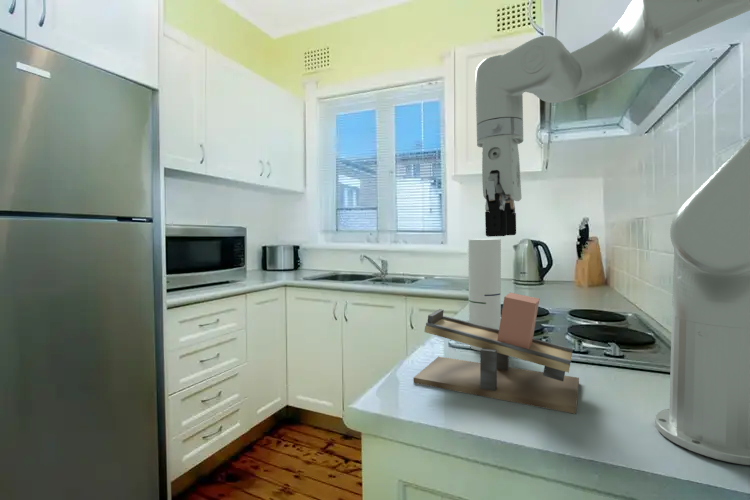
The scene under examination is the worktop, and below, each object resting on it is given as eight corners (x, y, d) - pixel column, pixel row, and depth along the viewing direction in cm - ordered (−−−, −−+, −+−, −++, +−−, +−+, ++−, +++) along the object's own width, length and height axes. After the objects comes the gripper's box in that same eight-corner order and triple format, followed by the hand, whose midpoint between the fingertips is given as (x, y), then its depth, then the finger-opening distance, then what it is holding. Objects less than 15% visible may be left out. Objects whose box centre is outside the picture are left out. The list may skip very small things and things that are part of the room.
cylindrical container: (504, 351, 89) (504, 239, 87) (472, 351, 89) (472, 239, 87) (495, 342, 96) (495, 238, 94) (465, 342, 96) (465, 238, 95)
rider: (531, 342, 70) (539, 298, 69) (527, 350, 65) (535, 303, 64) (502, 335, 72) (509, 292, 71) (496, 342, 68) (504, 296, 67)
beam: (569, 368, 68) (574, 340, 68) (566, 384, 61) (572, 354, 61) (437, 332, 80) (441, 308, 79) (422, 342, 73) (426, 316, 72)
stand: (578, 383, 70) (579, 341, 70) (575, 413, 59) (576, 363, 58) (438, 361, 83) (438, 325, 82) (413, 382, 71) (413, 341, 71)
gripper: (514, 118, 58) (517, 236, 59) (529, 141, 73) (531, 234, 74) (464, 127, 61) (466, 237, 62) (488, 147, 77) (490, 235, 77)
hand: (501, 235), depth 68 cm, fingers open, 9 cm apart
